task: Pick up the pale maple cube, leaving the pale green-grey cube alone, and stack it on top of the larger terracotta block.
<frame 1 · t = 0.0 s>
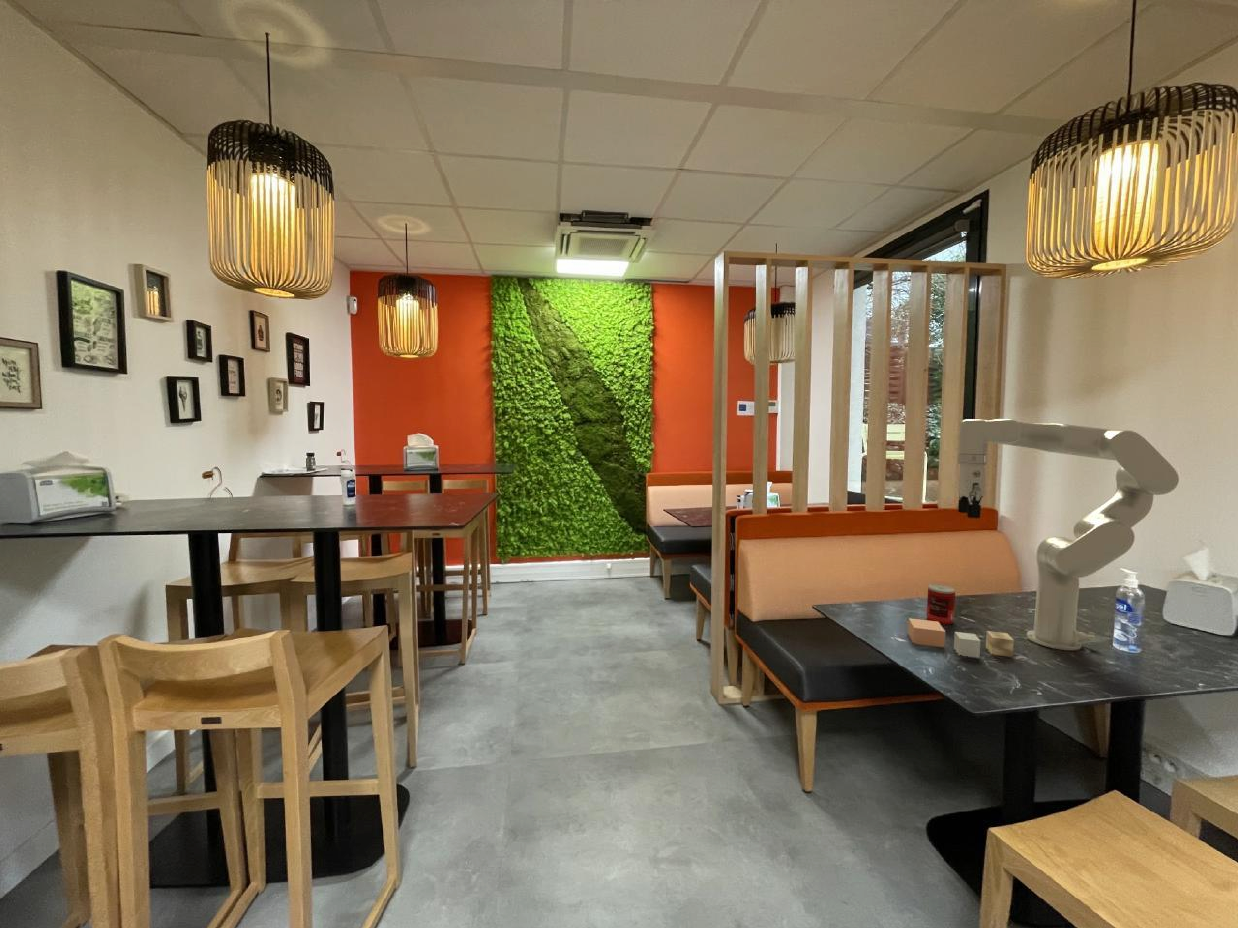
hand: (968, 515, 163), 37 cm above the table, tool pointing down, fingers open, 9 cm apart
pale green-grey cube: (966, 653, 150), on the table
canned food: (939, 620, 174), on the table
terracotta block: (925, 640, 158), on the table
maple cube: (998, 652, 150), on the table
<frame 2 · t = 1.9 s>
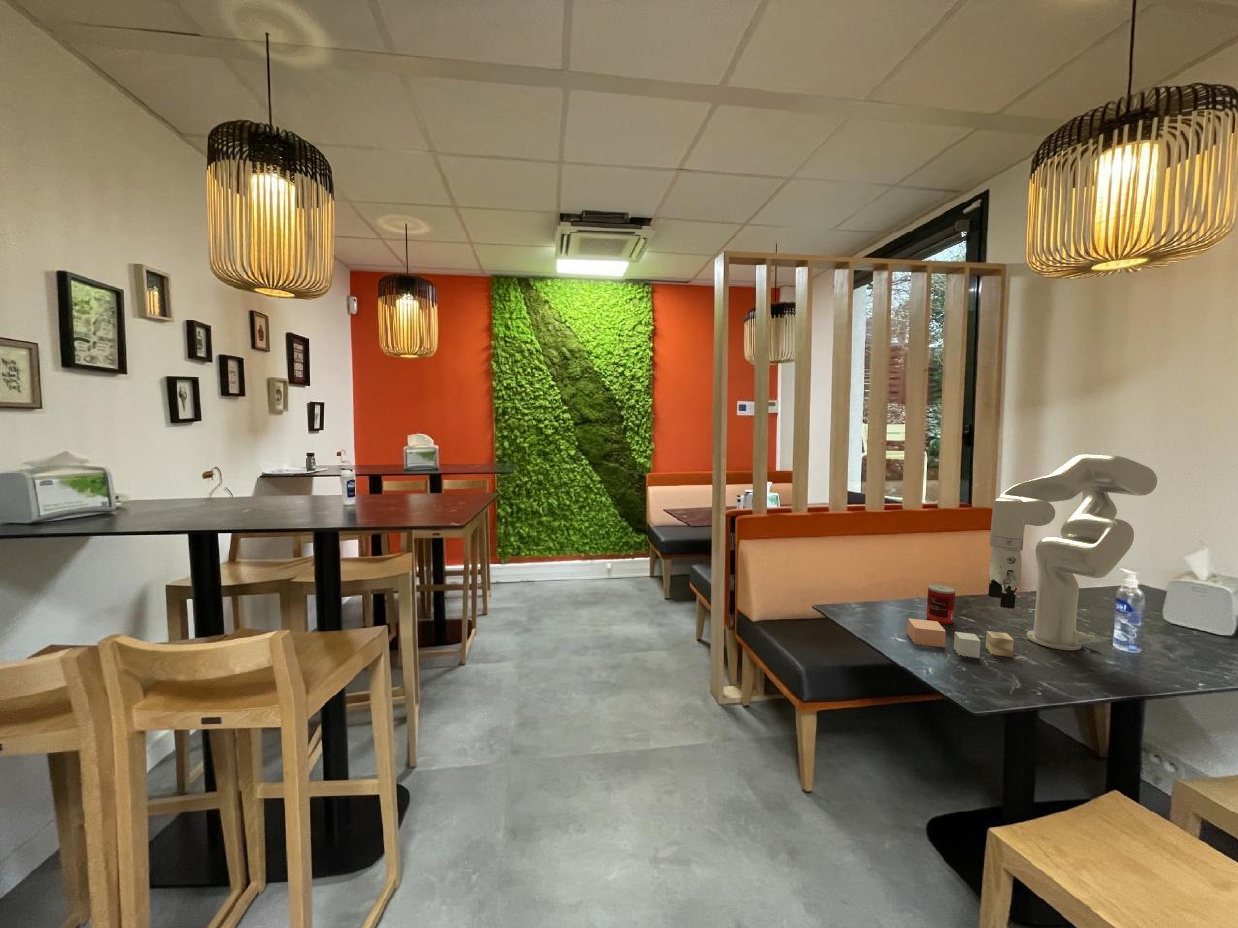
hand: (1000, 602, 149), 15 cm above the table, tool pointing down, fingers open, 9 cm apart
nothing on the table moved.
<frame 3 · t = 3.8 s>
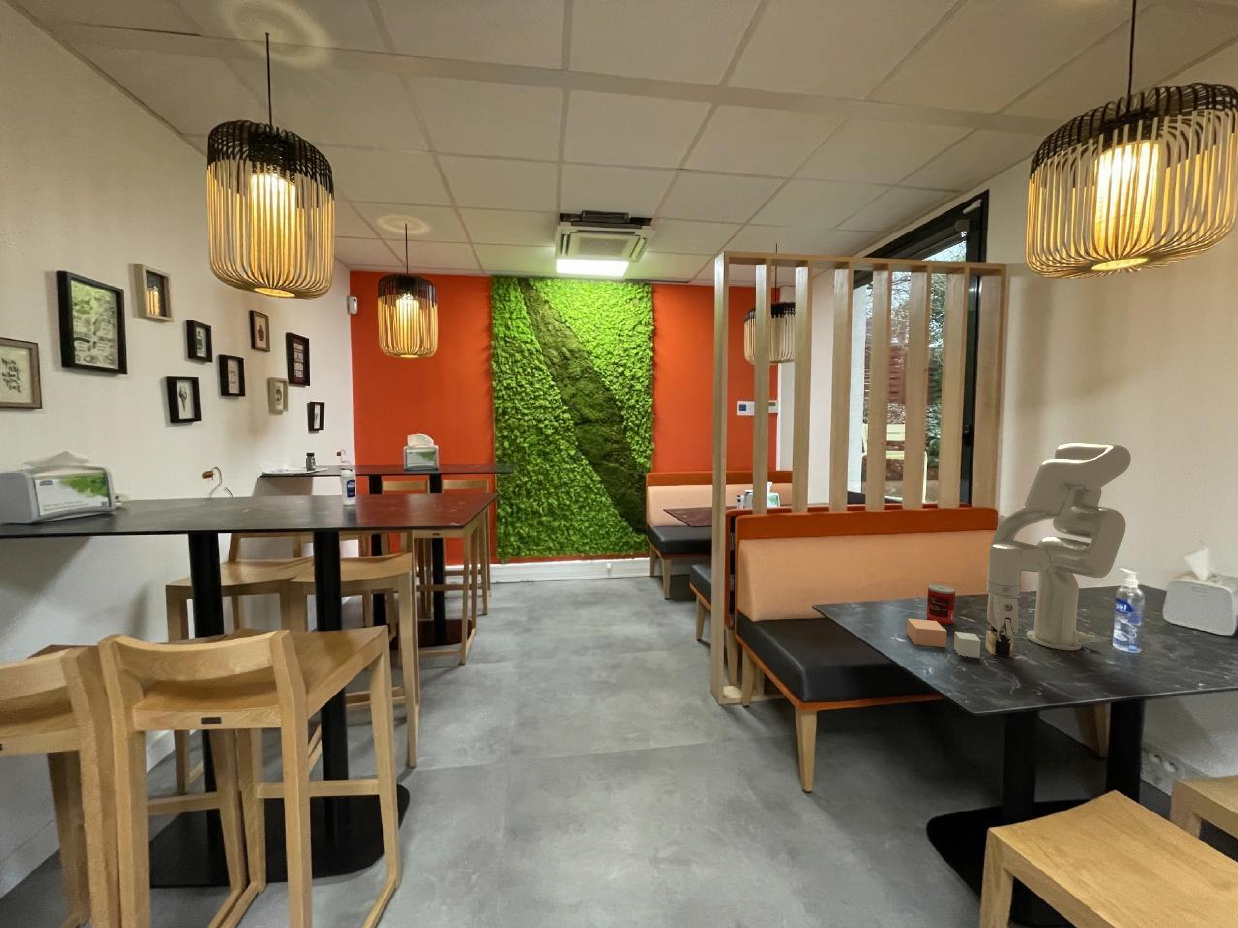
hand: (998, 650, 150), 0 cm above the table, tool pointing down, fingers closed on maple cube, 5 cm apart
maple cube: (998, 652, 150), on the table, touching gripper
everything else where it was.
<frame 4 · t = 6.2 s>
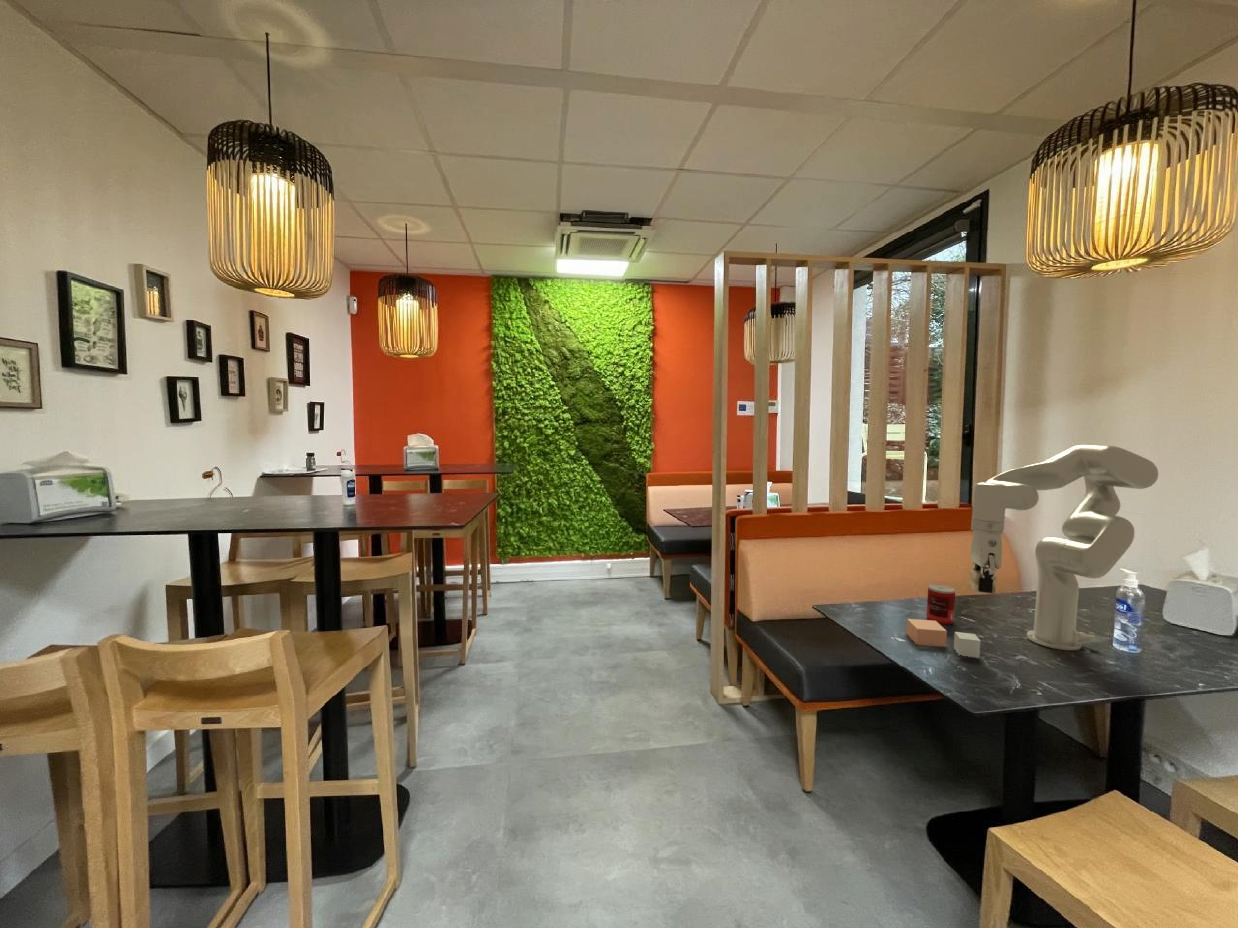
hand: (981, 588, 151), 18 cm above the table, tool pointing down, fingers closed on maple cube, 5 cm apart
maple cube: (981, 590, 151), point 17 cm above the table, touching gripper
everything else where it was.
when the fingers open (7 cm above the table, at t = 8.7 s): maple cube drops 2 cm, resting on terracotta block.
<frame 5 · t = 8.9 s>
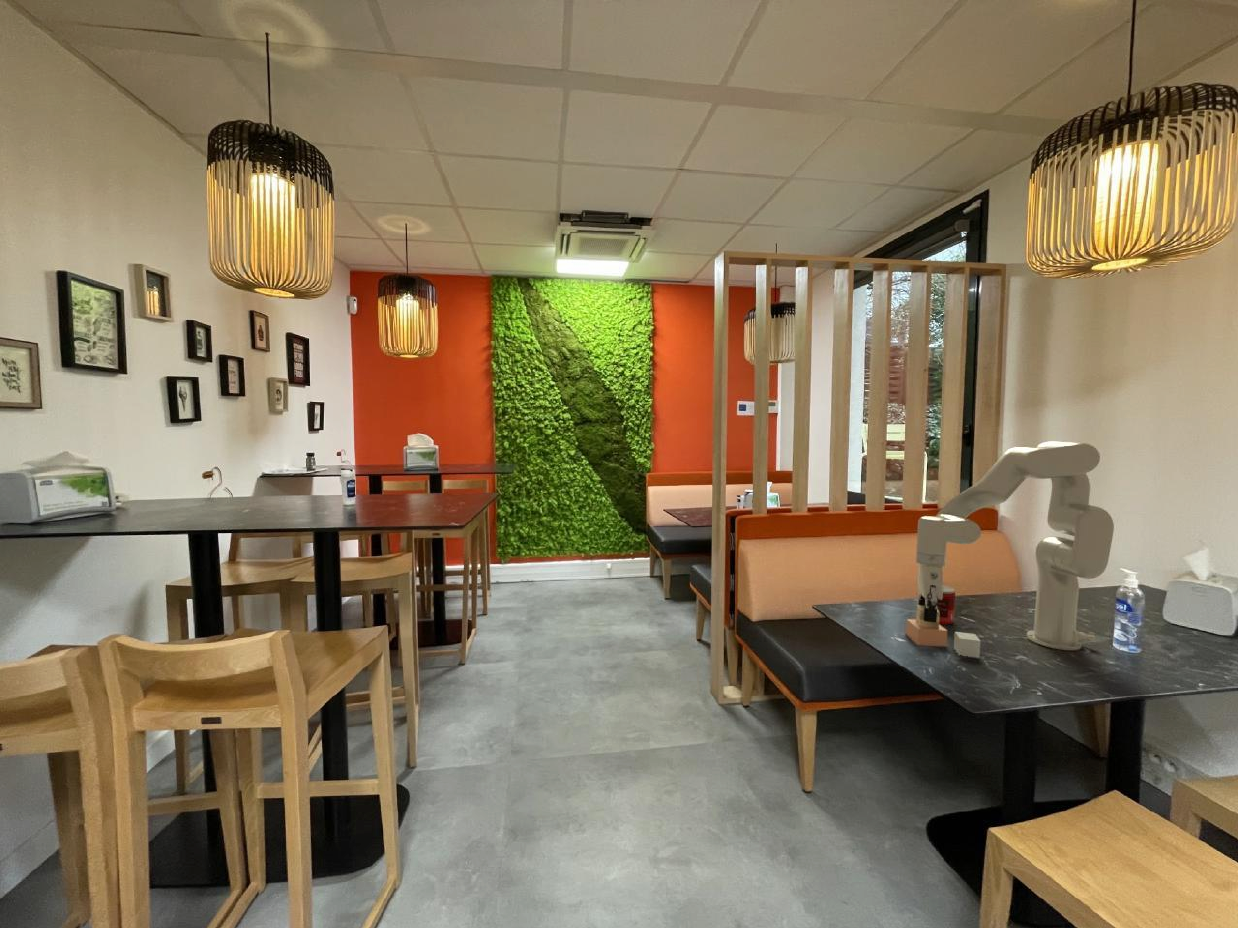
hand: (927, 616, 158), 7 cm above the table, tool pointing down, fingers open, 7 cm apart
terracotta block: (925, 640, 158), on the table, touching maple cube
maple cube: (927, 624, 158), point 5 cm above the table, touching terracotta block
everything else where it was.
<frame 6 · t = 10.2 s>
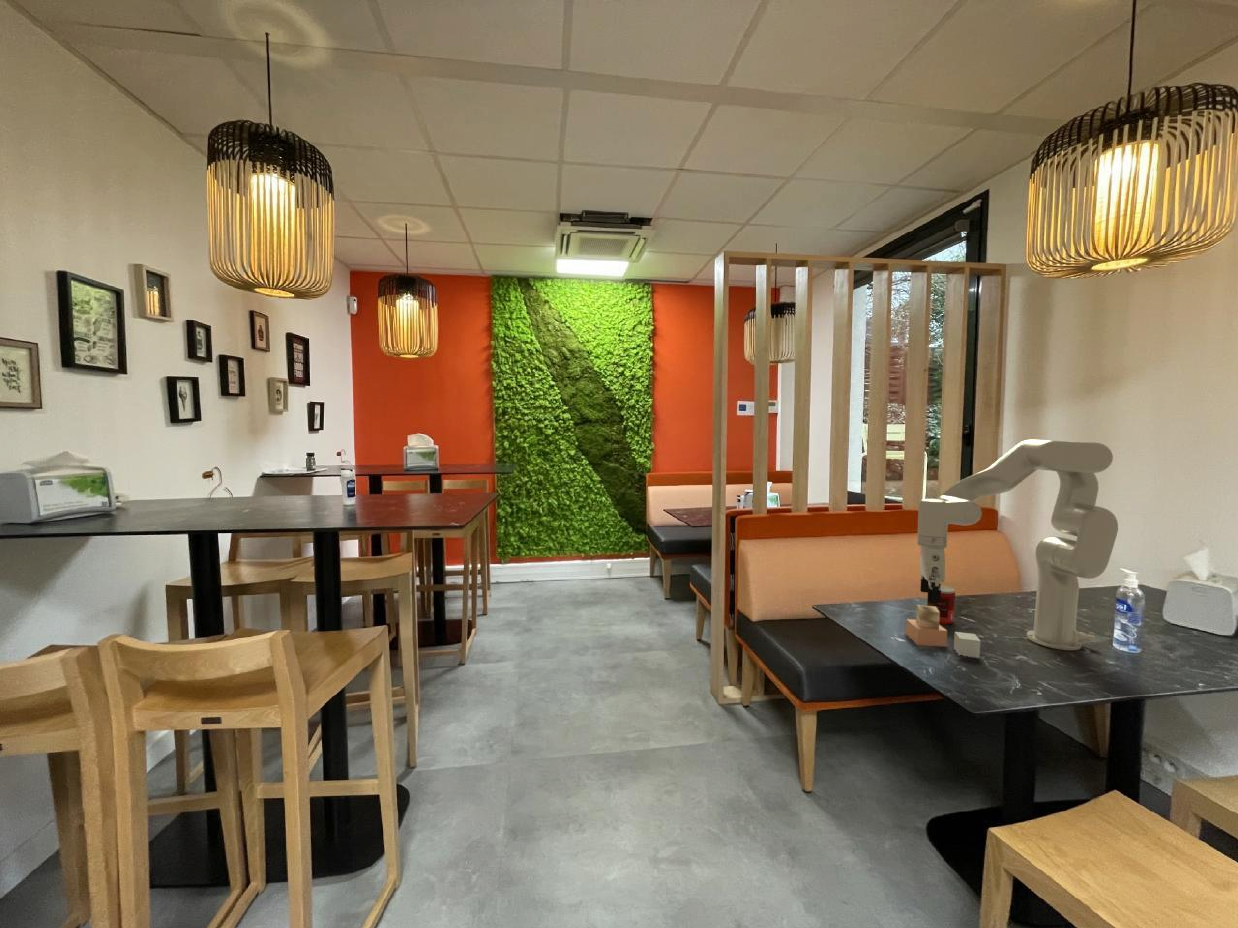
hand: (930, 597, 157), 13 cm above the table, tool pointing down, fingers open, 9 cm apart
terracotta block: (925, 640, 158), on the table
maple cube: (927, 624, 158), point 5 cm above the table
everything else where it was.
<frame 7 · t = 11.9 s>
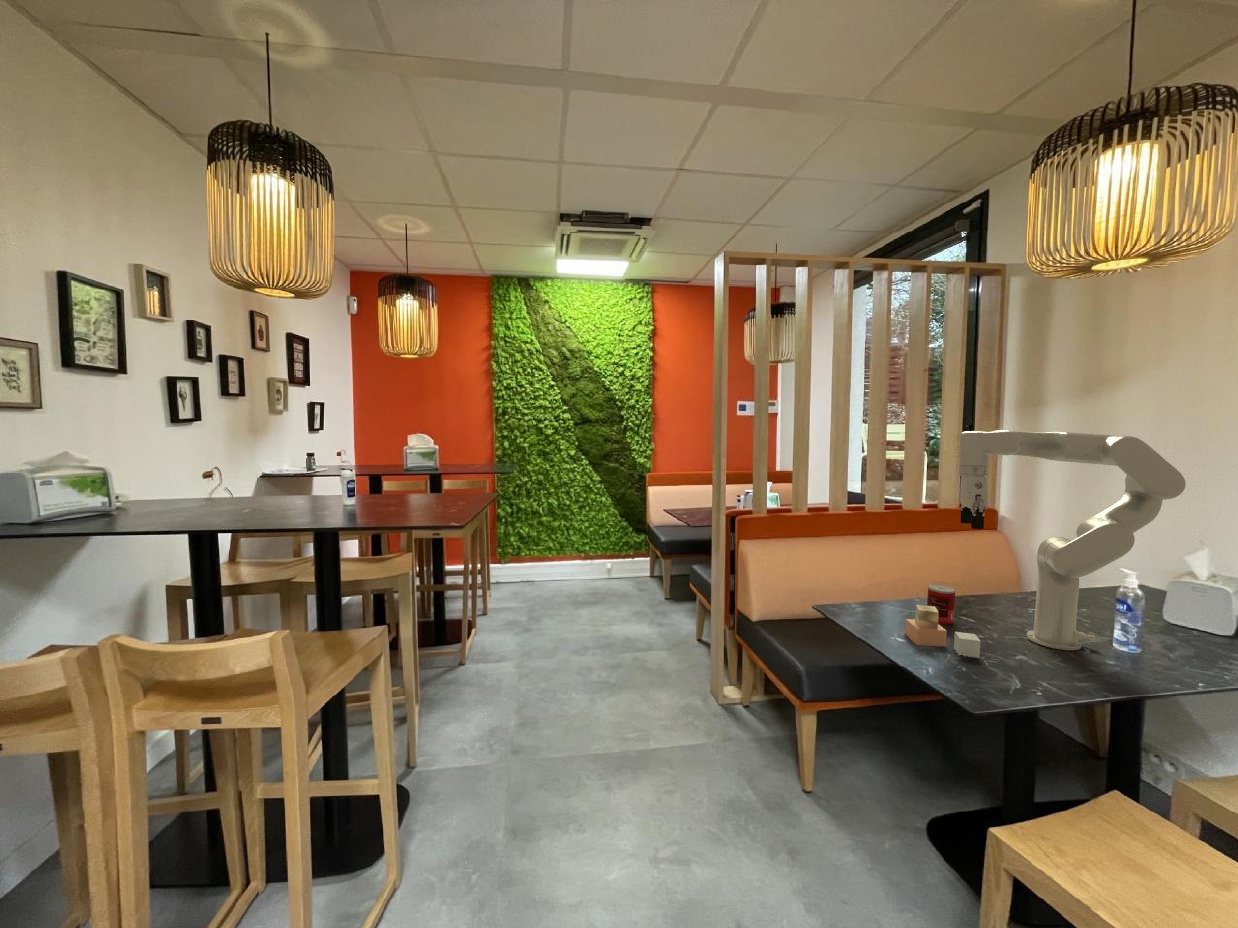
hand: (971, 525, 164), 33 cm above the table, tool pointing down, fingers open, 9 cm apart
terracotta block: (924, 640, 158), on the table, touching maple cube
maple cube: (926, 624, 158), point 5 cm above the table, touching terracotta block
everything else where it was.
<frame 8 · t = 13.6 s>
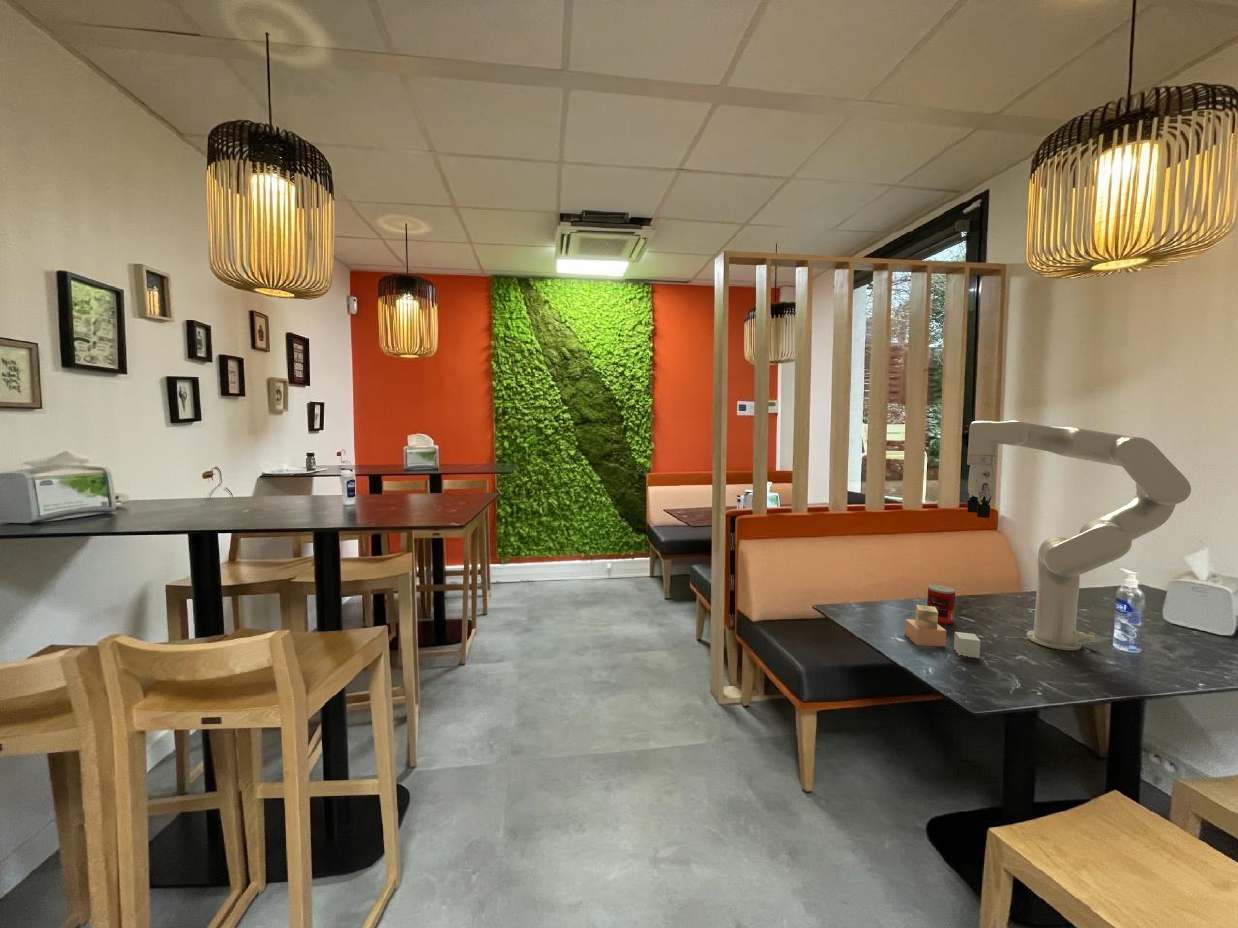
hand: (978, 514, 166), 36 cm above the table, tool pointing down, fingers open, 9 cm apart
nothing on the table moved.
at the end: maple cube 0.1 cm off-centre on the terracotta block, point 5.0 cm above the terracotta block's base; maple cube tilted 0°; pale green-grey cube moved 0.1 cm from its start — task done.
